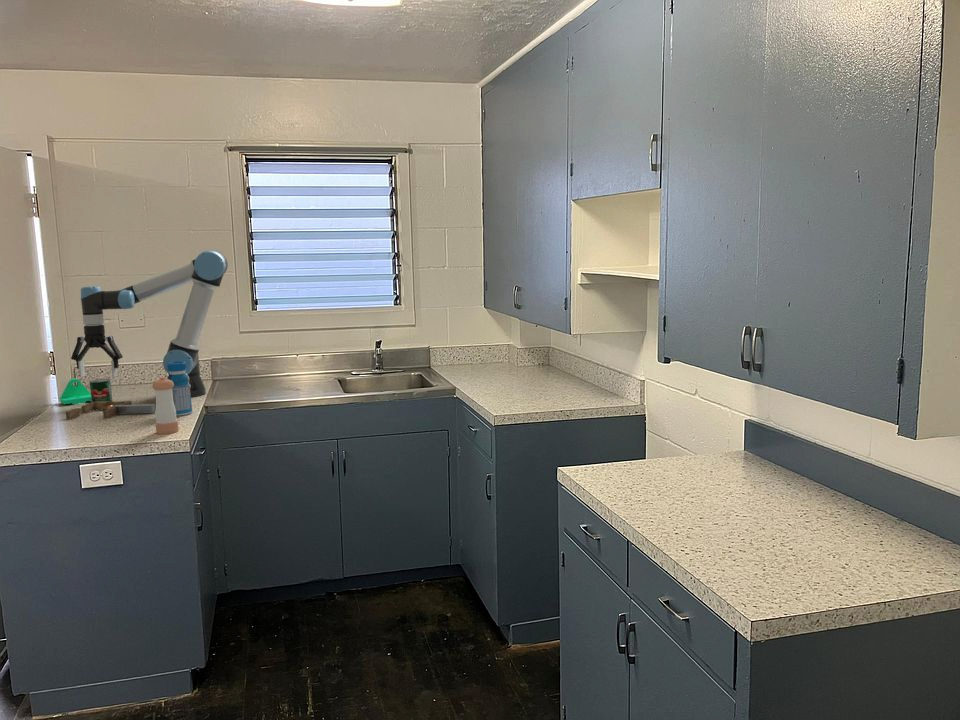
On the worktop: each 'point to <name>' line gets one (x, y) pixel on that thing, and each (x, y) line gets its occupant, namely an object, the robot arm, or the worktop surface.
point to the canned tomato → (100, 390)
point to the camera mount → (75, 393)
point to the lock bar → (133, 408)
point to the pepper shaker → (165, 407)
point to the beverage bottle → (180, 387)
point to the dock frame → (99, 406)
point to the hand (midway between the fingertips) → (98, 376)
